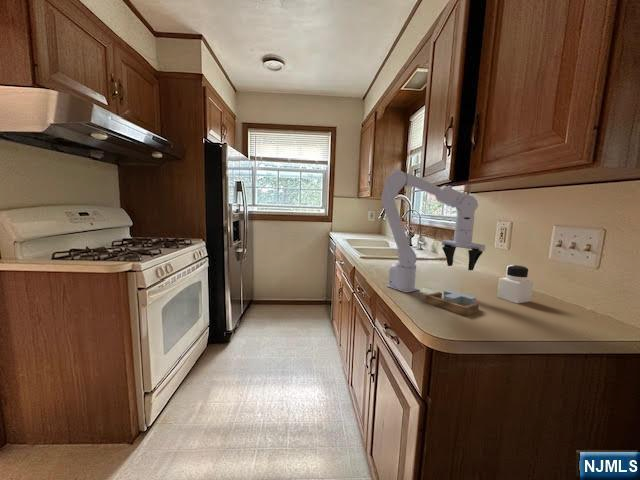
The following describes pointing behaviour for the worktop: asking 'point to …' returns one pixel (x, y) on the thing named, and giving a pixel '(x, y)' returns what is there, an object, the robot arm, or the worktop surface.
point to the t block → (459, 298)
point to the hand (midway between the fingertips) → (460, 267)
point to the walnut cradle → (451, 305)
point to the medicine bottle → (515, 285)
